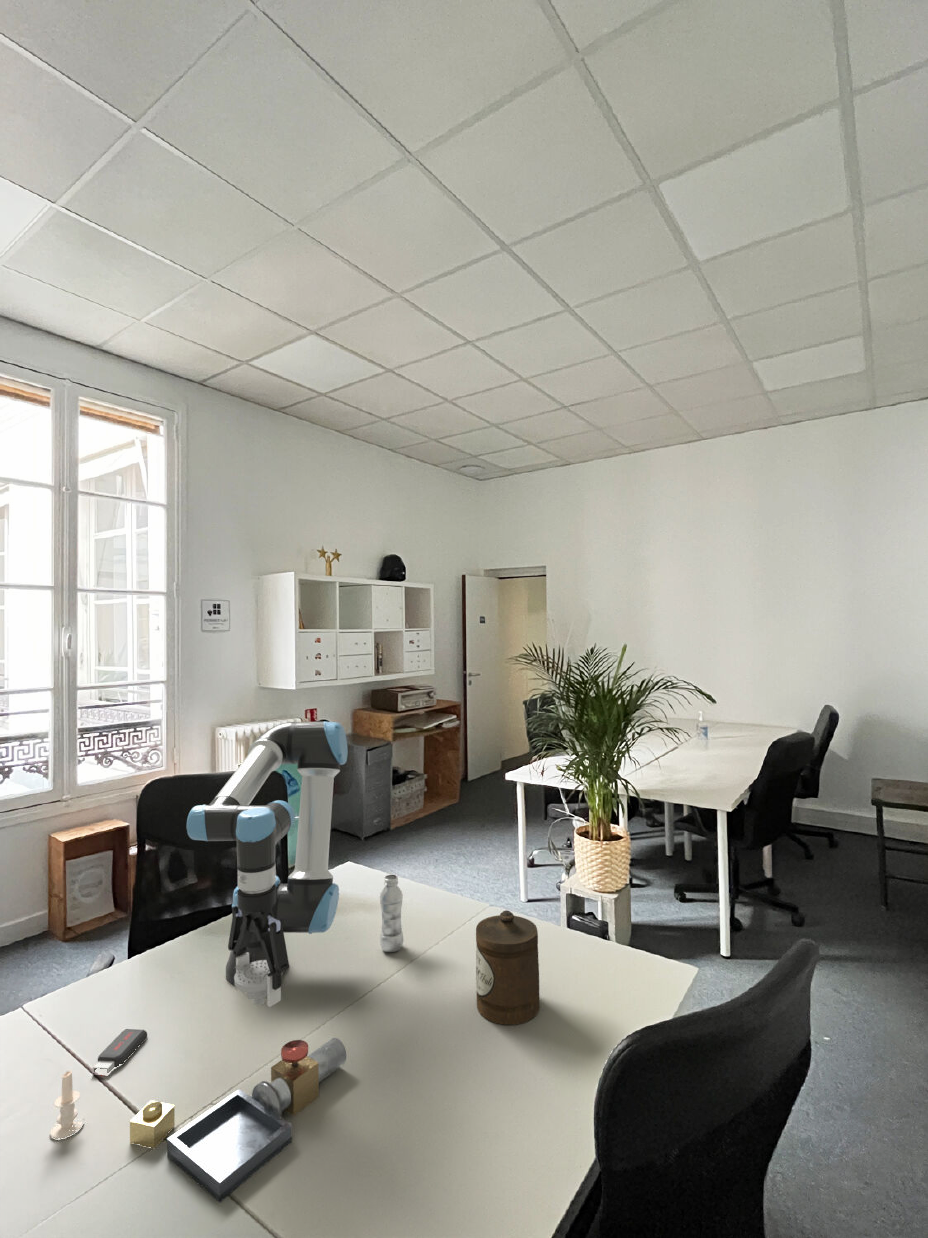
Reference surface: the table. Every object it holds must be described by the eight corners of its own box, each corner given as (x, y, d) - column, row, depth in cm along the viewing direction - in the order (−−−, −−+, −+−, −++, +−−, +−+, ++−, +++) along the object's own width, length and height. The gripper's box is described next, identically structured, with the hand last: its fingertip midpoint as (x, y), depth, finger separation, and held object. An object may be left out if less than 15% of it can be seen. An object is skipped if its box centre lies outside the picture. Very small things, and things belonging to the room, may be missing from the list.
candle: (47, 1145, 110) (47, 1084, 110) (53, 1123, 114) (53, 1065, 115) (81, 1135, 112) (81, 1076, 112) (86, 1114, 117) (86, 1057, 117)
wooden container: (476, 987, 156) (476, 898, 157) (536, 988, 156) (535, 898, 156) (476, 1025, 141) (475, 927, 142) (542, 1026, 141) (541, 927, 141)
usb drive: (147, 1039, 138) (147, 1027, 138) (112, 1078, 126) (112, 1064, 126) (124, 1038, 139) (124, 1026, 139) (88, 1077, 127) (88, 1063, 127)
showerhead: (247, 953, 136) (290, 957, 134) (248, 986, 136) (291, 991, 134) (222, 978, 127) (267, 983, 125) (223, 1014, 127) (268, 1019, 125)
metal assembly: (167, 1160, 107) (167, 1100, 107) (313, 1054, 133) (312, 1006, 133) (219, 1206, 98) (219, 1141, 98) (364, 1084, 124) (364, 1032, 125)
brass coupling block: (129, 1144, 110) (129, 1116, 110) (151, 1122, 115) (151, 1096, 115) (154, 1150, 109) (154, 1122, 109) (174, 1128, 113) (174, 1101, 113)
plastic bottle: (407, 945, 177) (406, 874, 177) (397, 957, 171) (396, 883, 171) (386, 942, 179) (386, 871, 179) (375, 953, 173) (375, 880, 173)
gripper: (208, 880, 133) (210, 985, 134) (276, 907, 120) (278, 1024, 121) (239, 868, 139) (241, 968, 140) (307, 893, 127) (308, 1004, 127)
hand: (258, 994), depth 130 cm, fingers closed on showerhead, 9 cm apart
